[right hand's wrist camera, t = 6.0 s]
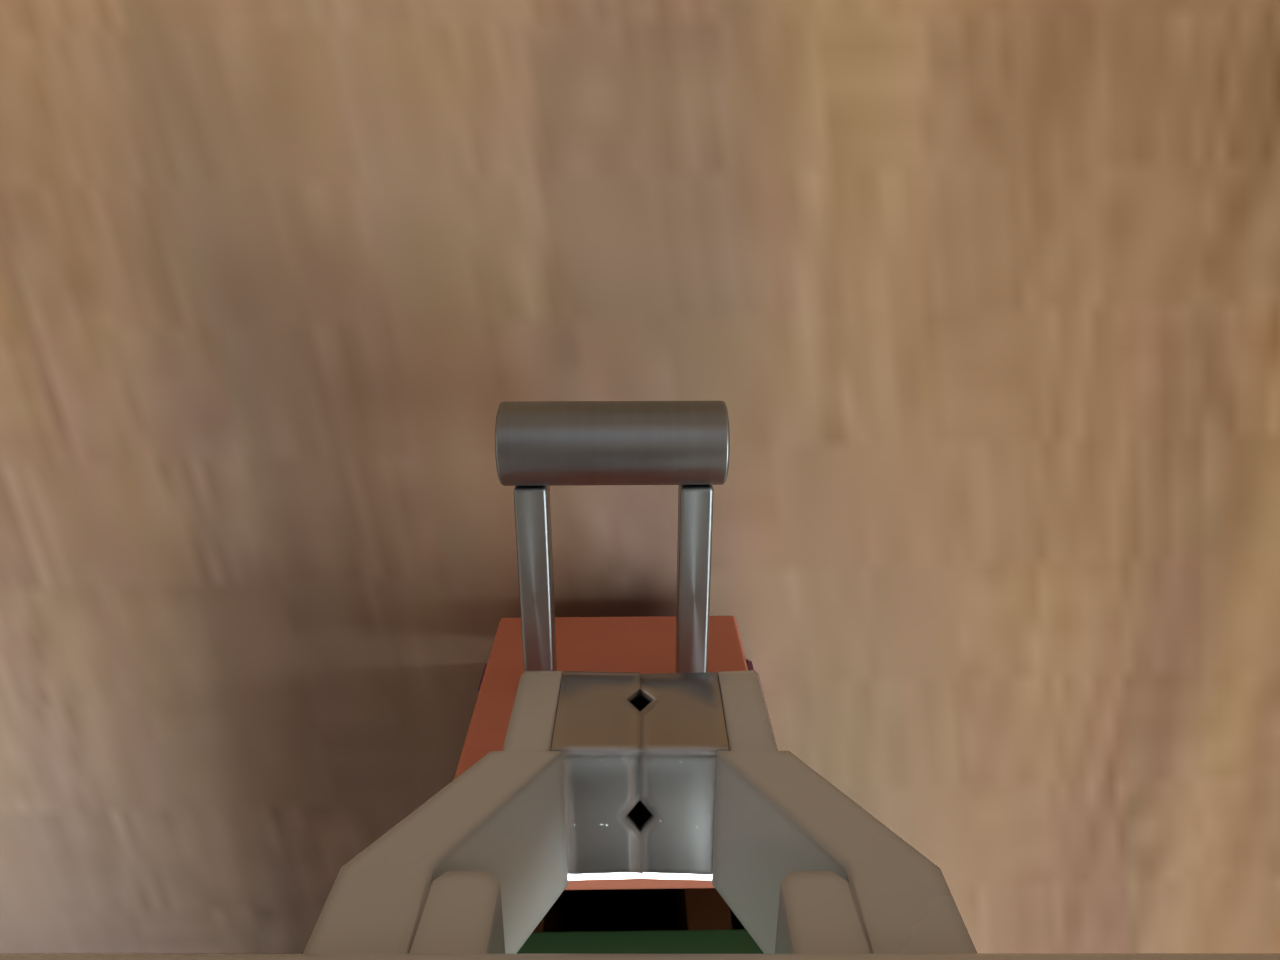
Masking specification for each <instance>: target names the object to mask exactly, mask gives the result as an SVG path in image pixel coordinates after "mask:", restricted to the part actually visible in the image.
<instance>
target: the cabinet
mask: <svg viewBox="0 0 1280 960" xmlns="http://www.w3.org/2000/svg"><path fill="white" fill-rule="evenodd" d="M746 664H747V668H748V671H749V670H754V669H753V665H752V662H751V661H747V663H746ZM486 667H487V664H486V665H485V668H484V671H483V675H482V678H481V682H480V685H479V688H478V690H479V691H480V687H481V684H482V680H483V677H484V674H485V670H486ZM478 694H479V693H478ZM477 698H478V697H477ZM476 701H477V700H476ZM475 705H476V704H475ZM474 708H475V707H474ZM473 711H474V710H473ZM472 715H473V714H472ZM471 718H472V717H471ZM470 722H471V721H470ZM469 725H470V724H469ZM468 729H469V728H468ZM467 732H468V731H467ZM466 736H467V735H466ZM465 739H466V738H465ZM464 742H465V741H464ZM463 746H464V745H463ZM462 749H463V748H462ZM461 753H462V752H461ZM460 756H461V755H460ZM459 760H460V759H459ZM458 763H459V762H458ZM457 767H458V765H457ZM456 770H457V769H456ZM455 773H456V772H455ZM454 777H455V776H454ZM453 780H454V779H453ZM731 916H732V923H733V929H731V930H654V931H578V932H532V933H531V935H530V936H529V937H528V939H527V940H526V941H525V943H524V944H523V945H522V947H521V948H520V949H519V951H518V952H517V953H516V954H764V953H763V952H762V950H761V949H760V948H759V946H758V945H757V944H756V942H755V941H754V939H753V938H752V937H751V935H750V934H749V933H748V931H747V930H746V929H745V927H744V926H743V925H742V923H741V922H740V921H739V919H738V918H737V917H736V915H735V914H734V913H733V911H732V910H731Z"/></svg>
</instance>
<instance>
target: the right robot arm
mask: <svg viewBox="0 0 1280 960" xmlns="http://www.w3.org/2000/svg"><path fill="white" fill-rule="evenodd" d="M631 878H647V879H682V880H712V885H713V886H714V887H715V889H716V890H717V891H718V893H719V894H720V895H721V897H722V898H723V899H724V901H725V902H726V903H727V905H728V906H729V907H730V909H731V910H732V911H733V913H734V914H735V915H736V917H737V918H738V919H739V921H740V922H741V923H742V925H743V926H744V927H745V929H746V930H747V931H748V933H749V934H750V935H751V937H752V938H753V939H754V941H755V942H756V944H757V945H758V946H759V948H760V949H761V950H762V952H763V953H764V954H516V953H517V952H518V951H519V949H520V948H521V947H522V945H523V944H524V943H525V941H526V940H527V939H528V937H529V936H530V935H531V933H532V932H533V931H534V929H535V928H536V927H537V925H538V924H539V923H540V921H541V920H542V919H543V917H544V916H545V915H546V913H547V912H548V911H549V909H550V908H551V907H552V905H553V904H554V903H555V901H556V900H557V899H558V897H559V896H560V895H561V893H562V892H563V891H564V889H565V888H566V887H567V885H568V880H597V879H631ZM0 960H1280V954H977V952H976V949H975V947H974V945H973V942H972V940H971V938H970V936H969V933H968V931H967V929H966V927H965V924H964V922H963V920H962V917H961V915H960V913H959V911H958V908H957V906H956V904H955V901H954V899H953V897H952V895H951V892H950V890H949V888H948V885H947V883H946V881H945V879H944V876H943V874H942V872H941V869H940V868H939V867H937V866H936V865H935V864H933V863H932V862H931V861H930V860H928V859H927V858H926V857H924V856H923V855H922V854H921V853H919V852H918V851H917V850H916V849H914V848H913V847H912V846H910V845H909V844H908V843H907V842H905V841H904V840H903V839H901V838H900V837H899V836H898V835H896V834H895V833H894V832H892V831H891V830H890V829H889V828H887V827H886V826H885V825H883V824H882V823H881V822H880V821H878V820H877V819H876V818H874V817H873V816H872V815H871V814H869V813H868V812H867V811H865V810H864V809H863V808H862V807H860V806H859V805H858V804H856V803H855V802H854V801H853V800H851V799H850V798H849V797H847V796H846V795H845V794H844V793H842V792H841V791H840V790H838V789H837V788H836V787H835V786H833V785H832V784H831V783H829V782H828V781H827V780H826V779H824V778H823V777H822V776H820V775H819V774H818V773H817V772H815V771H814V770H813V769H812V768H810V767H809V766H808V765H806V764H805V763H804V762H803V761H801V760H800V759H799V758H797V757H796V756H795V755H794V754H792V753H791V752H790V751H778V750H777V746H776V742H775V738H774V734H773V730H772V726H771V722H770V718H769V714H768V710H767V706H766V702H765V698H764V694H763V690H762V686H761V682H760V678H759V674H758V673H757V672H756V671H755V670H749V671H722V672H700V673H656V674H640V673H634V672H585V671H564V673H563V672H562V671H525V672H524V673H523V674H522V675H521V677H520V681H519V685H518V689H517V693H516V697H515V701H514V705H513V710H512V714H511V718H510V722H509V726H508V730H507V734H506V738H505V742H504V746H503V750H502V751H491V752H489V753H488V754H487V755H485V756H484V757H483V758H481V759H480V760H479V761H477V762H476V763H475V764H474V765H472V766H471V767H470V768H468V769H467V770H466V771H465V772H463V773H462V774H461V775H459V776H458V777H457V778H456V779H454V780H453V781H452V782H450V783H449V784H448V785H447V786H445V787H444V788H443V789H441V790H440V791H439V792H437V793H436V794H435V795H434V796H432V797H431V798H430V799H428V800H427V801H426V802H425V803H423V804H422V805H421V806H419V807H418V808H417V809H416V810H414V811H413V812H412V813H410V814H409V815H408V816H407V817H405V818H404V819H403V820H401V821H400V822H399V823H398V824H396V825H395V826H394V827H392V828H391V829H390V830H388V831H387V832H386V833H385V834H383V835H382V836H381V837H379V838H378V839H377V840H376V841H374V842H373V843H372V844H370V845H369V846H368V847H367V848H365V849H364V850H363V851H361V852H360V853H359V854H358V855H356V856H355V857H354V858H352V859H351V860H350V861H348V862H347V863H346V864H345V865H343V866H342V867H341V868H340V870H339V873H338V875H337V877H336V879H335V882H334V884H333V886H332V888H331V891H330V893H329V895H328V897H327V900H326V902H325V904H324V906H323V909H322V911H321V913H320V915H319V918H318V920H317V922H316V924H315V927H314V929H313V931H312V933H311V936H310V938H309V940H308V943H307V945H306V947H305V949H304V952H303V954H127V953H0Z"/></svg>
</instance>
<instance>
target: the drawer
mask: <svg viewBox="0 0 1280 960" xmlns="http://www.w3.org/2000/svg"><path fill="white" fill-rule="evenodd" d="M495 455H496V466H497V473H498V477H499V480H500V482H501V484H502V485H504V486H515V489H514V508H515V525H516V542H517V559H518V577H519V594H520V611H521V617H516V618H501V619H500V622H499V625H498V629H497V632H496V636H495V639H494V643H493V646H492V649H491V653H490V656H489V660H488V663H487V667H486V670H485V674H484V677H483V680H482V684H481V687H480V691H479V694H478V698H477V701H476V705H475V708H474V711H473V715H472V718H471V722H470V725H469V729H468V732H467V736H466V739H465V742H464V746H463V749H462V753H461V756H460V760H459V763H458V767H457V770H456V773H455V777H454V779H456V778H457V777H458V776H459V775H461V774H462V773H463V772H465V771H466V770H467V769H468V768H470V767H471V766H472V765H474V764H475V763H476V762H477V761H479V760H480V759H481V758H483V757H484V756H485V755H487V754H488V753H489V752H491V751H502V750H503V746H504V742H505V738H506V734H507V730H508V726H509V722H510V718H511V714H512V710H513V705H514V701H515V697H516V693H517V689H518V685H519V681H520V677H521V675H522V674H523V673H524V672H525V671H562V672H563V673H564V671H585V672H634V673H640V674H656V673H700V672H722V671H748V668H747V664H746V660H745V656H744V652H743V647H742V643H741V639H740V635H739V631H738V627H737V623H736V620H735V617H733V616H709V605H710V575H711V546H712V516H713V487H712V485H722V484H724V483H725V482H726V479H727V474H728V466H729V419H728V411H727V407H726V404H725V402H723V401H555V402H502V403H500V405H499V408H498V411H497V417H496V427H495ZM549 485H679V491H678V548H677V604H676V616H646V617H555V610H554V586H553V562H552V537H551V513H550V489H549ZM731 929H733V923H732V916H731V909H730V907H729V906H728V905H727V903H726V902H725V901H724V899H723V898H722V897H721V895H720V894H719V893H718V891H717V890H716V889H715V887H714V886H713V885H712V880H682V879H647V878H631V879H597V880H568V885H567V887H566V888H565V889H564V891H563V892H562V893H561V895H560V896H559V897H558V899H557V900H556V901H555V903H554V904H553V905H552V907H551V908H550V909H549V911H548V912H547V913H546V915H545V916H544V917H543V919H542V920H541V921H540V923H539V924H538V925H537V927H536V928H535V929H534V931H533V932H578V931H654V930H731Z"/></svg>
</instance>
